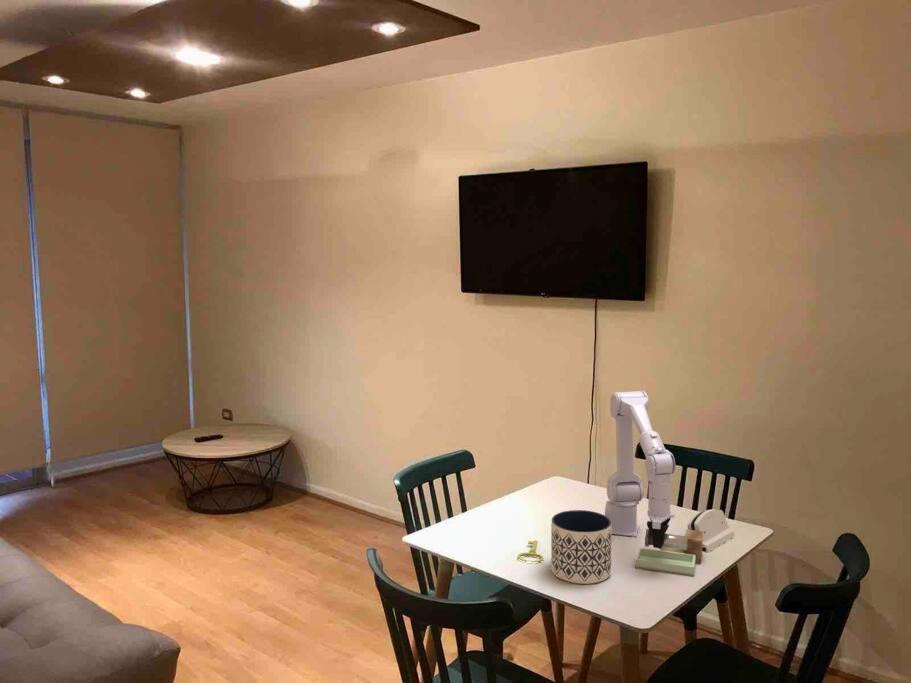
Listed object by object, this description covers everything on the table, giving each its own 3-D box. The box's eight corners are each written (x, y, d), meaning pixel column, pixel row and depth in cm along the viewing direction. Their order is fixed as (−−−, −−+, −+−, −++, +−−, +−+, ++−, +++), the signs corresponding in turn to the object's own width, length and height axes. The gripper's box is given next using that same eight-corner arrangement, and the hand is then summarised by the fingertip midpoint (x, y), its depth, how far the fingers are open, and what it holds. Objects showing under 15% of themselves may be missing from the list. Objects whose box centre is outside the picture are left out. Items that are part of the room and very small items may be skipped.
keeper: (659, 558, 203) (660, 535, 202) (661, 548, 210) (662, 526, 209) (700, 563, 199) (701, 540, 198) (702, 553, 206) (702, 531, 205)
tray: (635, 568, 197) (635, 559, 197) (638, 555, 205) (638, 547, 204) (693, 576, 192) (694, 567, 191) (695, 563, 199) (695, 554, 199)
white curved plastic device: (707, 553, 206) (697, 518, 207) (693, 553, 209) (683, 519, 211) (735, 536, 217) (726, 503, 218) (721, 537, 221) (712, 504, 222)
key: (537, 546, 213) (537, 539, 213) (544, 564, 201) (544, 557, 201) (513, 547, 213) (513, 540, 213) (519, 565, 201) (519, 558, 200)
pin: (644, 548, 197) (645, 532, 197) (646, 542, 201) (647, 526, 201) (686, 554, 193) (687, 538, 193) (687, 548, 198) (688, 532, 197)
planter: (622, 580, 190) (623, 527, 188) (566, 589, 186) (566, 535, 184) (593, 555, 205) (594, 507, 203) (541, 563, 201) (542, 513, 199)
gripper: (672, 507, 188) (671, 557, 190) (676, 489, 202) (675, 536, 203) (644, 504, 191) (643, 553, 192) (650, 487, 204) (649, 533, 206)
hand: (658, 544), depth 198 cm, fingers closed on pin, 3 cm apart
